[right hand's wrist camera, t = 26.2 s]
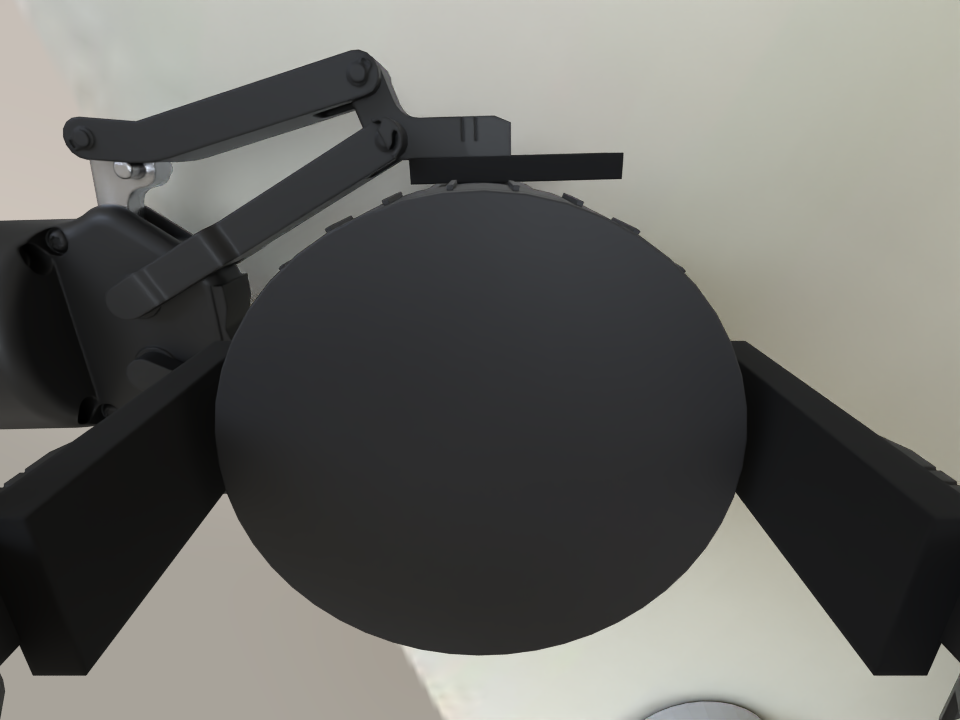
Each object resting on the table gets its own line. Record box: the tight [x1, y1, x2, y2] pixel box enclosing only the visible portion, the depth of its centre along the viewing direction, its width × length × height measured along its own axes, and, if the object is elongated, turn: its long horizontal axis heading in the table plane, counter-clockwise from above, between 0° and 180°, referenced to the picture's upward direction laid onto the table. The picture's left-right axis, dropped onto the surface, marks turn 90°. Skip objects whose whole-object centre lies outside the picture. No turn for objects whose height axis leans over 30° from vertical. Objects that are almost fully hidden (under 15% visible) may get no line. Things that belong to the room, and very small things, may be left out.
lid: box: [215, 180, 747, 655], centre depth 11 cm, size 10×10×2 cm
